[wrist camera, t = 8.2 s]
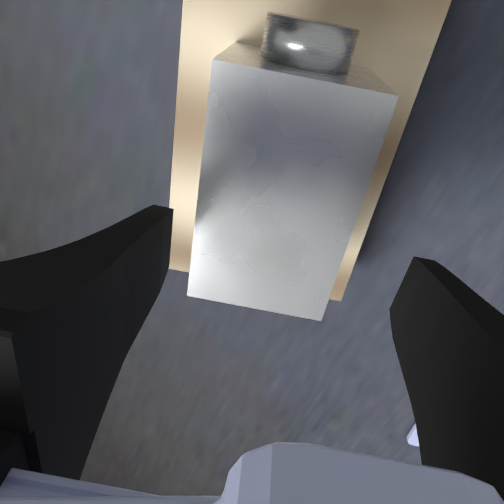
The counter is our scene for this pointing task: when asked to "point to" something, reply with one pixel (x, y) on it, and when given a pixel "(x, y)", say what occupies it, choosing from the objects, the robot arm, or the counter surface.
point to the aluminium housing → (285, 166)
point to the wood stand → (251, 32)
